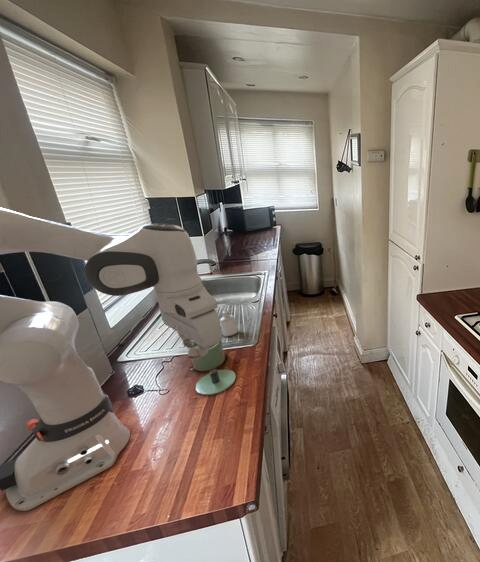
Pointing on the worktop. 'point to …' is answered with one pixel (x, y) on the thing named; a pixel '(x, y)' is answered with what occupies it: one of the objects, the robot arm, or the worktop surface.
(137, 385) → the worktop surface
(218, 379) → the lid
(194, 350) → the pale grey pebble
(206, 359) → the pot
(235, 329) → the eye dropper bottle
